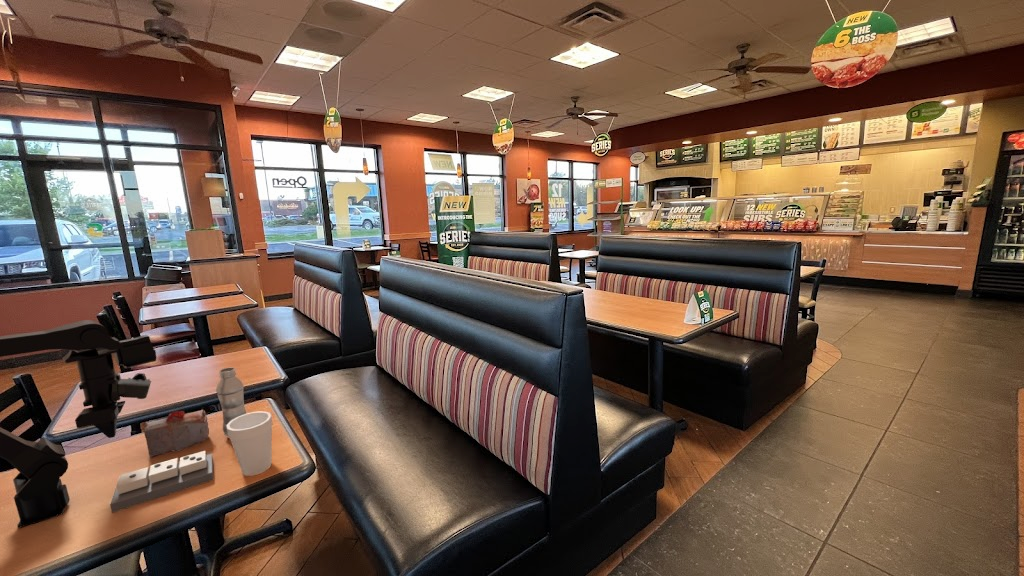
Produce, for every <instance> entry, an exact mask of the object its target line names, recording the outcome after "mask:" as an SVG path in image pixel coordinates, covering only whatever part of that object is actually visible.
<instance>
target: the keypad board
mask: <svg viewBox="0 0 1024 576" xmlns="http://www.w3.org/2000/svg"><path fill="white" fill-rule="evenodd" d="M206 457H207V467H206V468H202V469H199V470H196V471H193V472H189V473H186V474H183V475H181V474H180V469H179V470H178V475H177V476H174V477H171V478H167V479H164V480H161V481H158V482H154V483H151V484H150V481H148V485H147V486H144V487H141V488H138V489H134V490H131V491H128V492H125V493H121V494H118V492H117V488H116V487H115V489H114V492H113V495H112V498H111V501H110V504H109V505H110V509H111V513H112V514H114V513H116V512H119V511H123V510H125V509H128V508H130V507H131V508H132V507H134V506H137V505H140V504H143V503H146V502H149V501H153V500H155V499H158V498H161V497H165V496H168V495H171V494H174V493H178V492H181V491H183V490H186V489H190V488H193V487H196V486H199V485H201V484H202V485H203V484H205V483H209V482H211V481H214V458H213V453H208V454H206ZM179 465H180V462H179Z"/></svg>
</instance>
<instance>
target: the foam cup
mask: <svg viewBox="0 0 1024 576" xmlns="http://www.w3.org/2000/svg"><path fill="white" fill-rule="evenodd" d="M273 423H274V422H273V417H272V414H271V413H270V412H268V411H264V410H263V411H261V410H260V411H252V412H246V414H244V415H241V416H238V417H236V418H235V419H233V420H231V421H230V422H229V423H228V424H227V425H226V426H227V432H228V436H229V437H228V439H230V443H231V444H232V447H233V451H234V453H235V456H236V459H237V462H238V465H239V467H240V469H241V473H242V475H244V476H247V477H250V476H252V477H253V476H256V475H260V474H262V473H264V472H266V471H267V470H268V469H269V468H271V465H272V458H273V457H272V453H273V452H272V450H273V449H272V446H273V445H272V444H273V443H272V441H273V436H272V435H273V433H272V432H273Z"/></svg>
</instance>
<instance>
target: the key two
mask: <svg viewBox="0 0 1024 576" xmlns="http://www.w3.org/2000/svg"><path fill="white" fill-rule="evenodd" d="M179 463H180V461H179V458H178V457H176V458H172V459H169V460H166V461H162V462H158V463H154V464H152V465H150V468H149V481H150V484H151V483H154V482H158V481H161V480H164V479H167V478H171V477H174V476H177V475H178V470H179Z"/></svg>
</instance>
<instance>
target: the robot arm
mask: <svg viewBox="0 0 1024 576" xmlns="http://www.w3.org/2000/svg"><path fill="white" fill-rule="evenodd" d="M98 348H101V349H102V350H98ZM48 350H51V351H52V350H59V351H60V350H63V351H64V350H66V351H68V353H66V355H65V356H63V357H62V360H63V361H64V362H65V363H66V364H69V363H74V362H76V366H77V369H78V374H79V378H80V384H79V385H78V387H79V390H80V391H81V390H82V391H83V395H84V401H83V402H82V405H83V408H84V409H82V410H81V412H79V414H78V415H77V416H76V418H75V419H74V422H75V425H76V428H77V429H82V428H87V427H90V426H94V427H95V428H97V430H99V431H100V432H101V433H102V434H103V435H105V436H106V437H107V439H108V438H109V439H111V438H115V436H116V435H117V433H116V432H117V423H118V416H119V414H120V413H121V412H122V410H123V407H124V406H125V404H126V400H123V401H120V400H121V398H128V399H129V398H131V399H133V398H134V399H137V400H144V399H146V398H147V397H148V394H149V392H150V391H149V390H150V388H151V383H152V380H151V379H150V378H147V375H146V373H144V372H143V373H142V372H138V373H136V374H135V375H134V376H132V378H131V377H128V378H121V374H120V373H119V372H116V369H115V364H114V360H115V363H116V365H117V367H119V366H123V368H124V369H130V368H132V367H137V366H141V365H146V364H151V363H154V362H157V352H156V349H155V348H154V345H153V343H152V341H151V337H150V336H149V335H147V334H145V335H140V336H137V337H133V338H128V339H123V340H119V339H118V338H116V337H115V336H113V337H112V336H110V333H109V330H108V329H107V328H106V327H105V326H104V325H102V324H101V323H100V322H97V321H96V320H93V319H92V320H91V319H84V320H79V321H74V322H71V323H66V324H62V325H60V326H56V327H54V328H50V329H46V330H39V331H32V332H26V333H25V332H24V333H15V334H8V335H2V336H1V335H0V358H1V357H2V358H3V357H9V356H14V355H21V354H28V353H29V354H30V353H35V352H36V353H37V352H42V351H48ZM78 350H79V351H78ZM112 354H113V356H114V358H113V356H112ZM113 359H114V360H113ZM86 407H87V408H86ZM0 459H3V460H6V461H7V462H8V463H10V465H12V466H13V467H14V469H15V470H17V471H18V472H19V473H17V474H16V476H15V477H14V478H13V485H14V489H15V492H16V494H14V496H13V501H14V503H15V507H16V511H17V514H18V517H19V522H18V523H17V528H22V527H26V526H29V525H33V524H36V523H38V522H42V521H45V520H49V519H51V518H54V517H58V516H61V515H63V513H64V511H65V509H66V507H67V506H68V504H69V503H70V500H71V499H70V496H69V492H68V488H67V485H66V484H63V483H62V480H61V479H62V477H63V476H64V475H65V474H66V473H67V470H68V468H69V462H68V460H67V458H66V453H65V451H64V449H63V447H62V445H61V444H55V443H54V442H51V441H50V440H48V439H47V438H46V437H45V436H42V437H41V438H40V439H39V440H38V441H31V440H26V439H24V438H22V437H20V436H18V435H16V434H14V433H13V432H10V431H8V430H7V429H4V428H2V427H1V426H0Z"/></svg>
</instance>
